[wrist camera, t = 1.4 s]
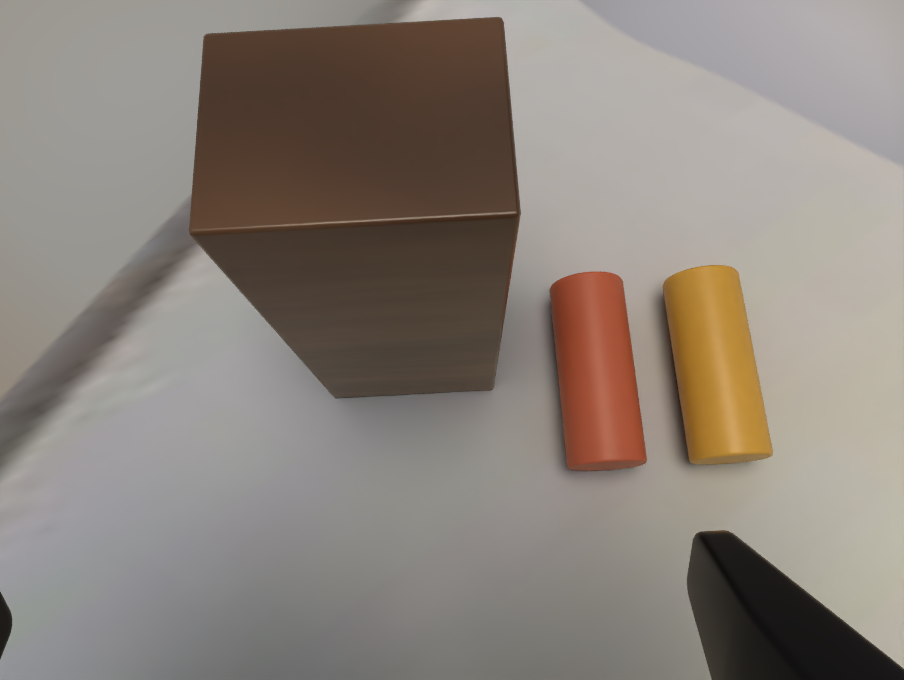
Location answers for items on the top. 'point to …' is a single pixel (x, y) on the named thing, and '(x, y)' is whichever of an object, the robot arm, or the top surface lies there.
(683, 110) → the top surface
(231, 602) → the top surface
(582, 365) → the twin coloured cylinders
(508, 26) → the top surface
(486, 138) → the bar
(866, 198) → the top surface
